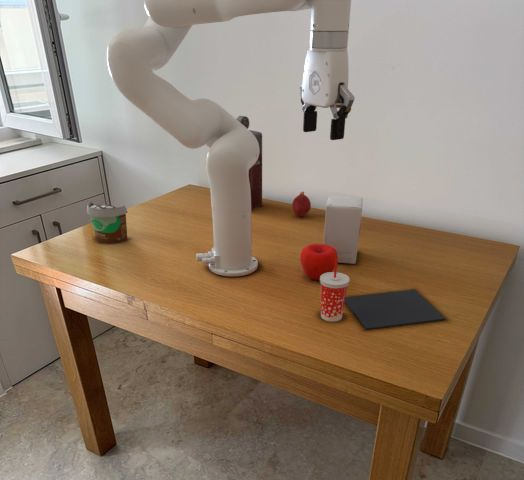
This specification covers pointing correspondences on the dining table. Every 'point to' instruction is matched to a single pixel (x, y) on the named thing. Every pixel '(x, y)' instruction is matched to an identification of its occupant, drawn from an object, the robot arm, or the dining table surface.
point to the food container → (108, 222)
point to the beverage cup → (333, 294)
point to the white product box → (343, 226)
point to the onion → (301, 204)
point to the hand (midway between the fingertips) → (322, 135)
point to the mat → (392, 309)
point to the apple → (317, 260)
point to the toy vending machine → (254, 168)
